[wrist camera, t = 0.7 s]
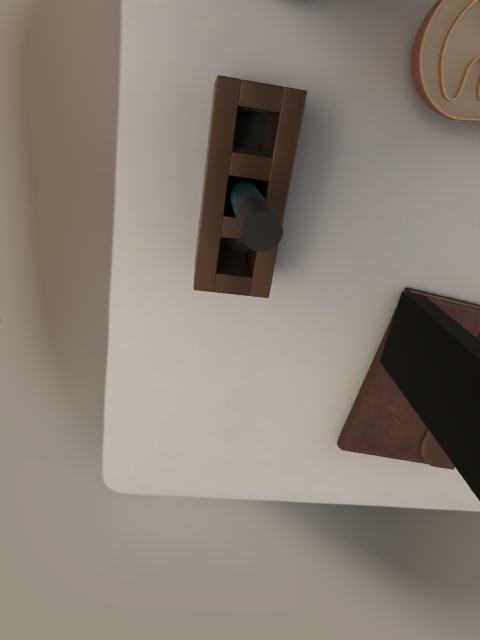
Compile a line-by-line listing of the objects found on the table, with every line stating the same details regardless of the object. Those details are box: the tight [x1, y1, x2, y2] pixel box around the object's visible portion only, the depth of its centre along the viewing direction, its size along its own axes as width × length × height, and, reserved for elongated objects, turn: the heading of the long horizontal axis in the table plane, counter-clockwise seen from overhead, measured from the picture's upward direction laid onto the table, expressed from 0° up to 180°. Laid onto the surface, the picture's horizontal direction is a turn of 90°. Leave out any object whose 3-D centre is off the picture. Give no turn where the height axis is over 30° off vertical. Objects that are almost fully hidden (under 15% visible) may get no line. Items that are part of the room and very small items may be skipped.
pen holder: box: [194, 75, 307, 298], centre depth 35 cm, size 6×15×7 cm, turn 172°
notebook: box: [337, 288, 480, 469], centre depth 48 cm, size 15×20×2 cm
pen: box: [227, 176, 283, 252], centre depth 31 cm, size 2×2×17 cm
